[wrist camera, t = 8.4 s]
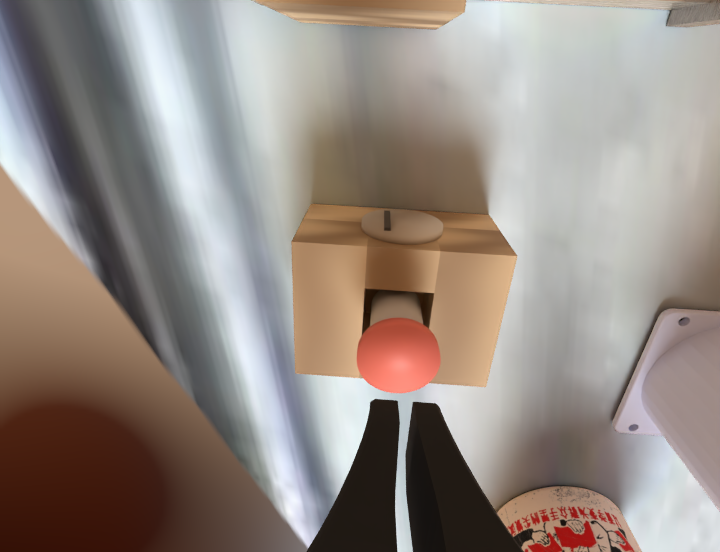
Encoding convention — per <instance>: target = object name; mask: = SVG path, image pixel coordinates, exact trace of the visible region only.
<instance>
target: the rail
mask: <svg viewBox="0 0 720 552" xmlns="http://www.w3.org/2000/svg"><path fill="white" fill-rule="evenodd" d="M251 1H254V2H256V0H251ZM486 1H505V2H525V3H545V4H565V5H585V6H604V7H624V8H644V9H664V10H671V13H670V16H669V19H668V22H667V25H666V26H674V27H695V26H704V25H713V24H720V0H486ZM256 3H258V2H256ZM258 4H260V3H258ZM260 5H262V4H260Z"/></svg>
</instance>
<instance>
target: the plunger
mask: <svg viewBox="0 0 720 552" xmlns="http://www.w3.org/2000/svg"><path fill="white" fill-rule="evenodd" d="M440 362H441V357H440V351H439V346H438V342H437V339H436V337H435V336H434V334H433V333H432V332H431V330H430V329H429V328H427V327H426V326H425V325H423V319H422V312H421V305H420V300H419V298H418V296H417V295H416V293H415V292H410V291H395V290H379V291H378V292H377V293H376V294H375V296H374V297H373V300H372V303H371V319H370V327H369V328H368V329H367V330H366V331H365V332H364V333H363V335H362V336H361V338H360V340H359V343H358V348H357V367H358V370H359V372H360V374H361V375H362V377H363V378H364V379H365V380H366V381H367V382H368V383H369V384H370V385H372V386H374V387H375V388H377V389H380V390H382V391H386V392H391V393H406V392H411V391H415V390H417V389H420V388H422V387H424V386H425V385H427V384H428V383H429V382H430V381H431V380H432V379H433V378H434V377H435V376H436V374H437V372H438V370H439V367H440Z"/></svg>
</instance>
